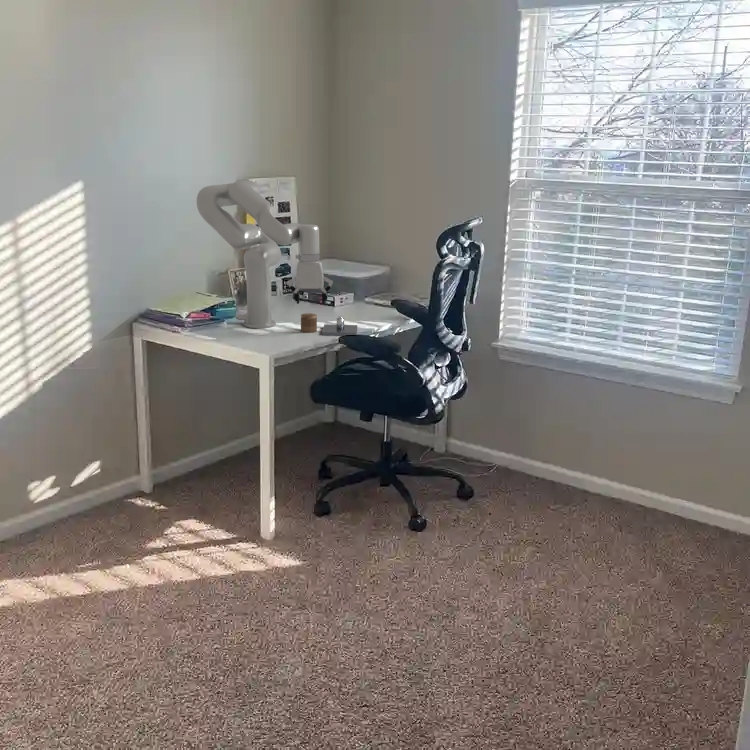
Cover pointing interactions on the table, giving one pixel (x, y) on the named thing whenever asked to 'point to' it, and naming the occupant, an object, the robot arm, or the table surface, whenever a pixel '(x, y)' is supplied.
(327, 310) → the table surface
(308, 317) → the wooden cylinder
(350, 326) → the shaft plate
